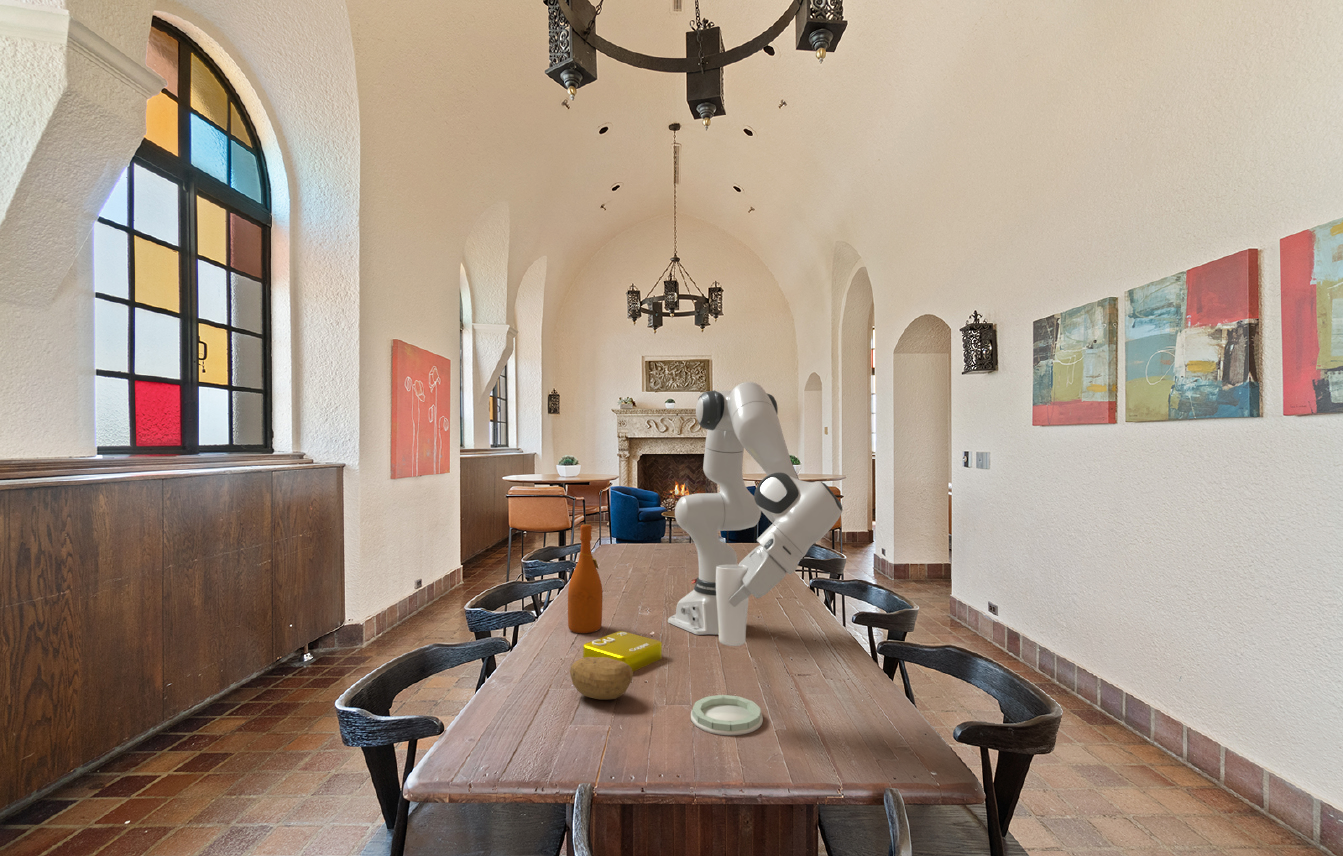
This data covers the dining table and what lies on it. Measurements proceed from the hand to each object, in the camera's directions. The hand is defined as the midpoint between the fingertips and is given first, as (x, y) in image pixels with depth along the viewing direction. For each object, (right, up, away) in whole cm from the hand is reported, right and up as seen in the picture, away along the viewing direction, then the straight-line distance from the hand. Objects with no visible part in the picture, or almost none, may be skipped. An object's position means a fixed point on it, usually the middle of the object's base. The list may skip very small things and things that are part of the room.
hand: (729, 598), depth 122 cm
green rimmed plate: (-1, -22, -3) cm, 23 cm away
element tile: (-24, -24, +29) cm, 44 cm away
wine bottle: (-36, -24, +52) cm, 68 cm away
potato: (-27, -23, +6) cm, 35 cm away
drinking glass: (0, -9, -1) cm, 9 cm away
